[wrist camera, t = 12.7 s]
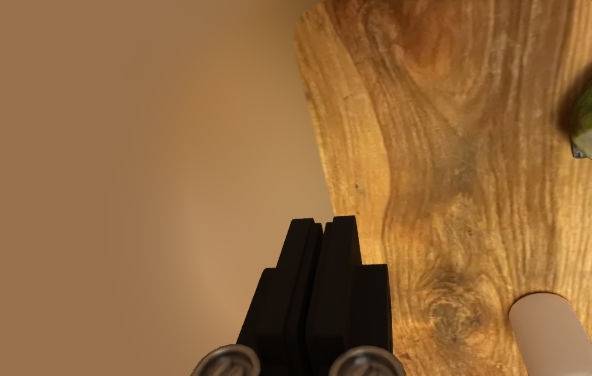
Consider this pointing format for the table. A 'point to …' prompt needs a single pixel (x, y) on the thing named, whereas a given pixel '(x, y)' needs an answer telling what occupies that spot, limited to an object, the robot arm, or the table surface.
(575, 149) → the fruit
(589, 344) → the can
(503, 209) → the table surface
